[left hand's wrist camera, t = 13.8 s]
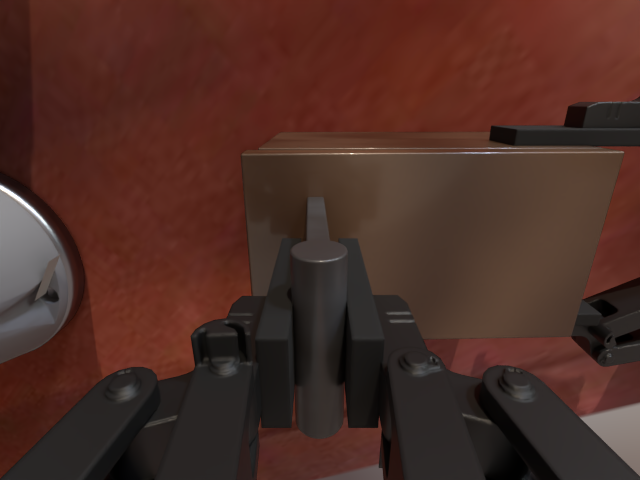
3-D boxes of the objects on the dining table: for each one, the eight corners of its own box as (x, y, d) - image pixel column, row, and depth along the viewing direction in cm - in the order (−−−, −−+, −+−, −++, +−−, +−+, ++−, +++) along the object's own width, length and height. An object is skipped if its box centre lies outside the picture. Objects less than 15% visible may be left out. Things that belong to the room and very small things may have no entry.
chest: (284, 255, 28) (268, 322, 19) (280, 132, 25) (257, 148, 16) (485, 255, 28) (556, 322, 19) (506, 131, 24) (603, 147, 16)
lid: (258, 328, 19) (223, 481, 11) (245, 149, 16) (184, 195, 8) (556, 323, 19) (716, 467, 12) (603, 147, 16) (868, 189, 8)
